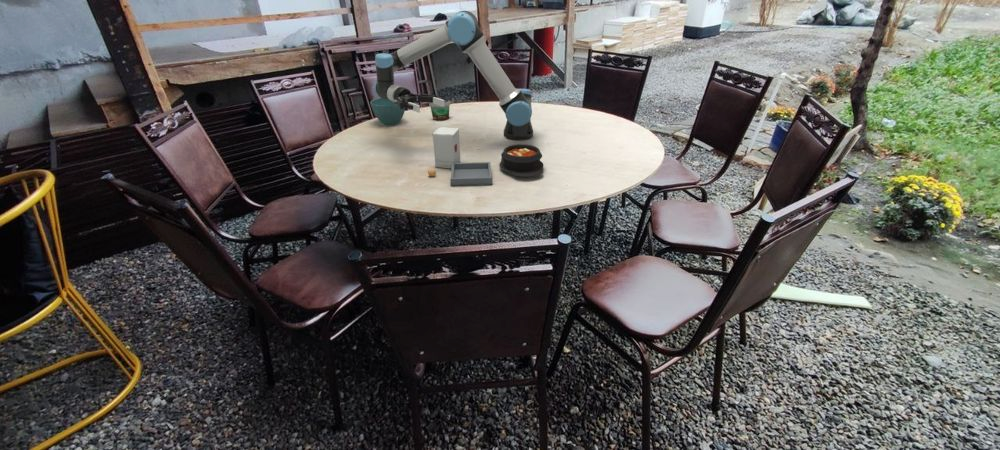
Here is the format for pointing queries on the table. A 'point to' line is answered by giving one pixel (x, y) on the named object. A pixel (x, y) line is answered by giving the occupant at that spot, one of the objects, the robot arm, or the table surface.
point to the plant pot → (387, 111)
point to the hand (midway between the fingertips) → (431, 106)
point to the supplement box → (446, 147)
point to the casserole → (522, 160)
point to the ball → (431, 172)
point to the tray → (471, 174)
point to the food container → (440, 111)
